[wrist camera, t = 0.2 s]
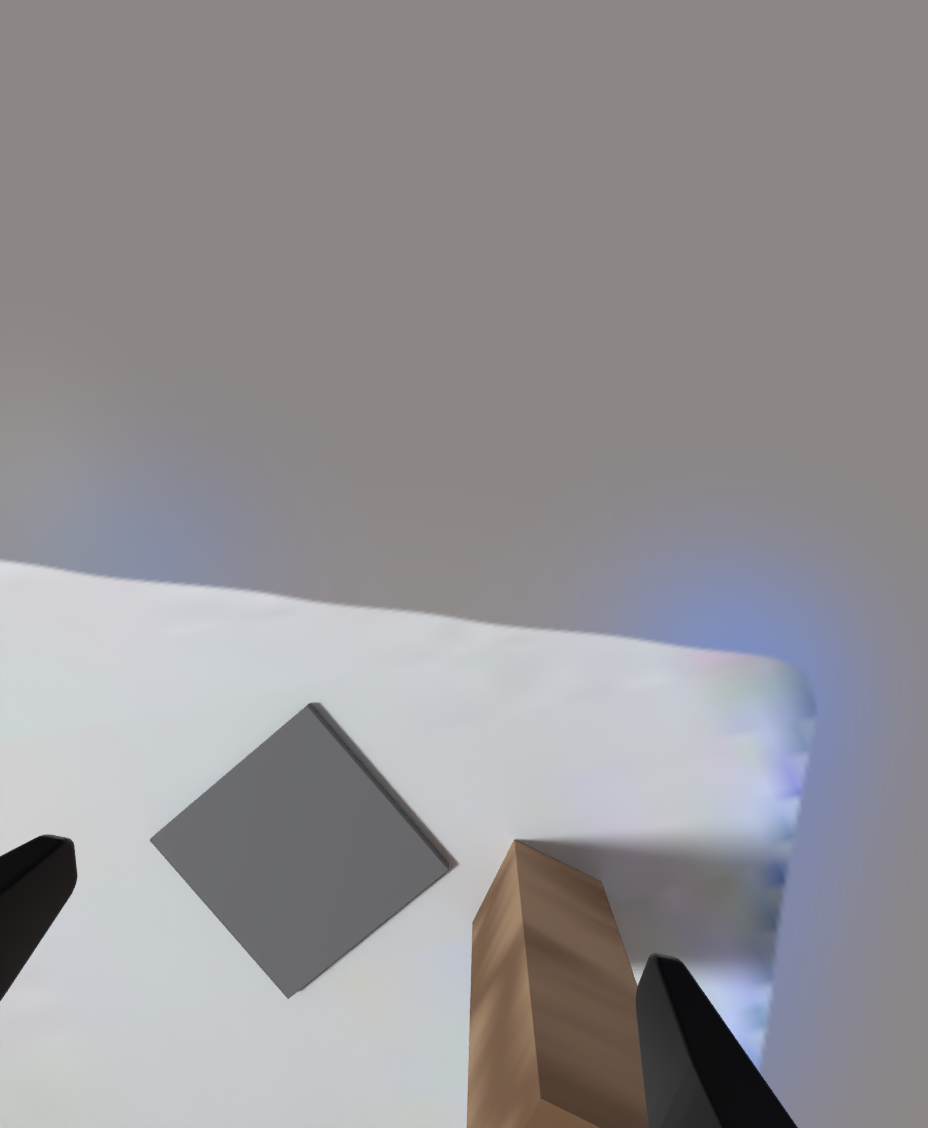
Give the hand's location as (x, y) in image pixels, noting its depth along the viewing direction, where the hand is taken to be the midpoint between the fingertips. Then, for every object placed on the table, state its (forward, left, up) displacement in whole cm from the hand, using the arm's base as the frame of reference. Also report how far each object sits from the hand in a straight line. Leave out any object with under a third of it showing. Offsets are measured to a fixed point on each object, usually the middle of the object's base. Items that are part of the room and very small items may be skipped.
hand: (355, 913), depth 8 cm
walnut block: (-4, -12, -16) cm, 20 cm away
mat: (-11, -3, -16) cm, 19 cm away
